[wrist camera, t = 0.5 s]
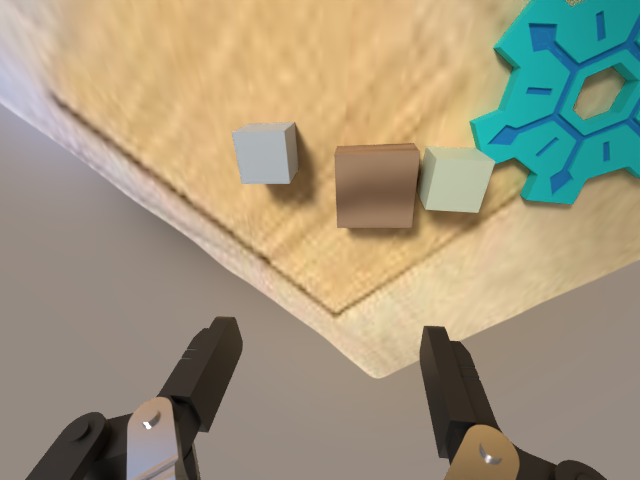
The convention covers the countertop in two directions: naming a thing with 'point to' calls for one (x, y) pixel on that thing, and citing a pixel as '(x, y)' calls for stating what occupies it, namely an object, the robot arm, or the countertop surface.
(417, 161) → the walnut base
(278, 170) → the slate cube
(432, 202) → the sage block
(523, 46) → the decorative ornament
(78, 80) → the countertop surface
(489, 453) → the robot arm
